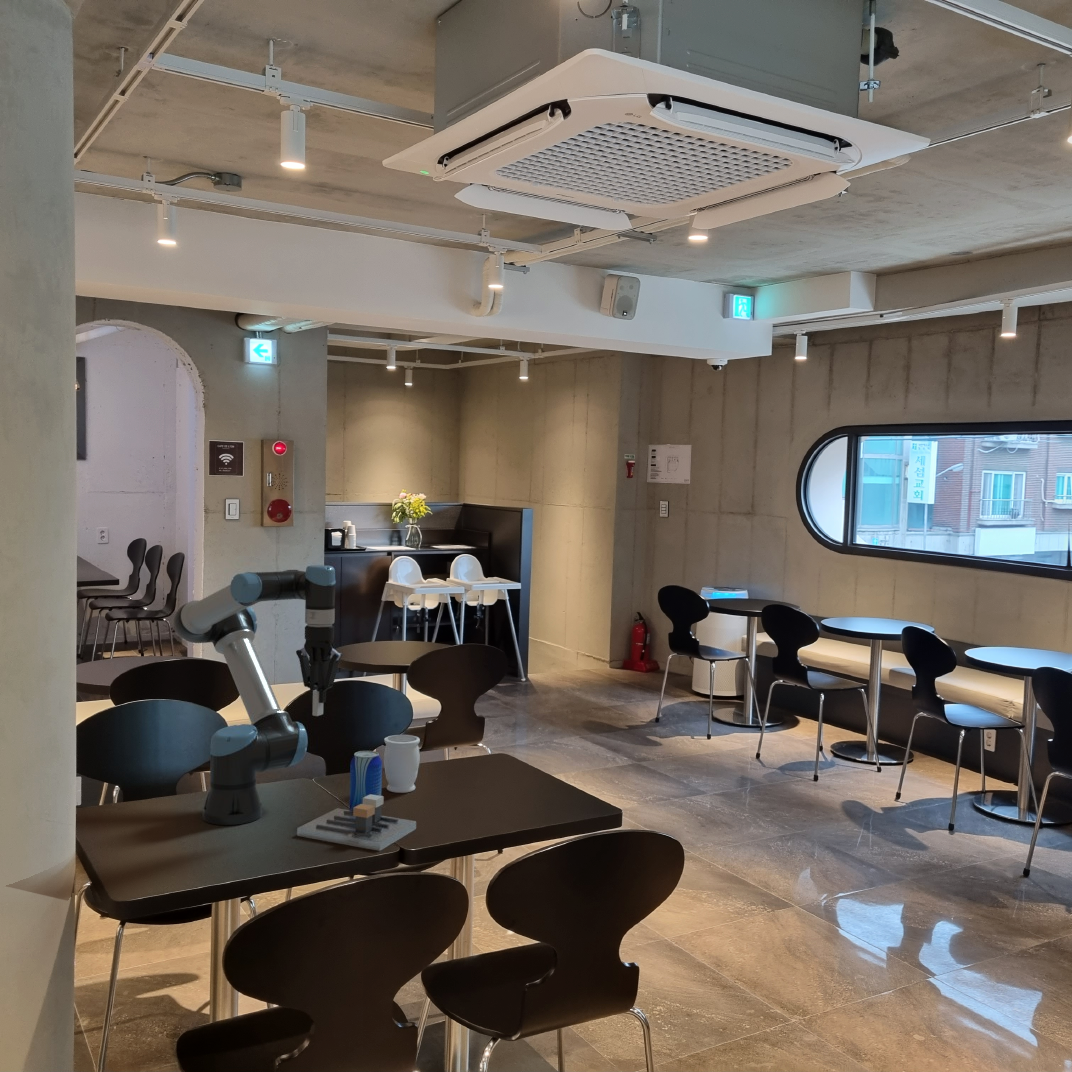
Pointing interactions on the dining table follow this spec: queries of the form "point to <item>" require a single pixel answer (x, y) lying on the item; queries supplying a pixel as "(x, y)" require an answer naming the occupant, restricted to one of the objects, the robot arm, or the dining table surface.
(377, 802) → the fader
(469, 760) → the dining table surface
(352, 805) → the beer can
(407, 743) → the jar
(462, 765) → the dining table surface
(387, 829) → the console
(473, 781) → the dining table surface
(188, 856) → the dining table surface
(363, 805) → the fader
